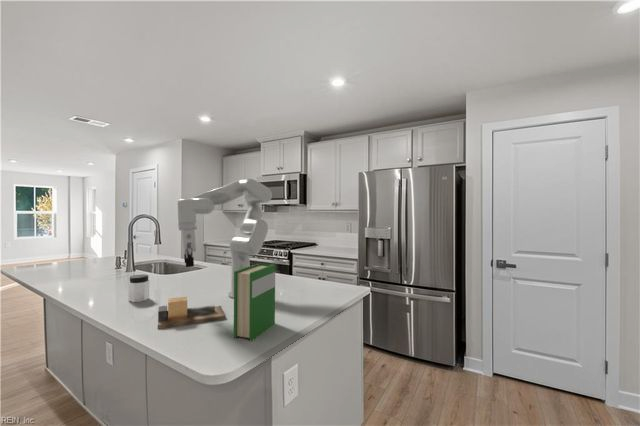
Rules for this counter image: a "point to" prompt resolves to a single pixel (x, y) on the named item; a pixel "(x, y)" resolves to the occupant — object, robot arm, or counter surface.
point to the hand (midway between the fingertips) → (189, 264)
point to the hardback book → (254, 300)
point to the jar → (138, 288)
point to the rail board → (190, 316)
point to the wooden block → (177, 308)
